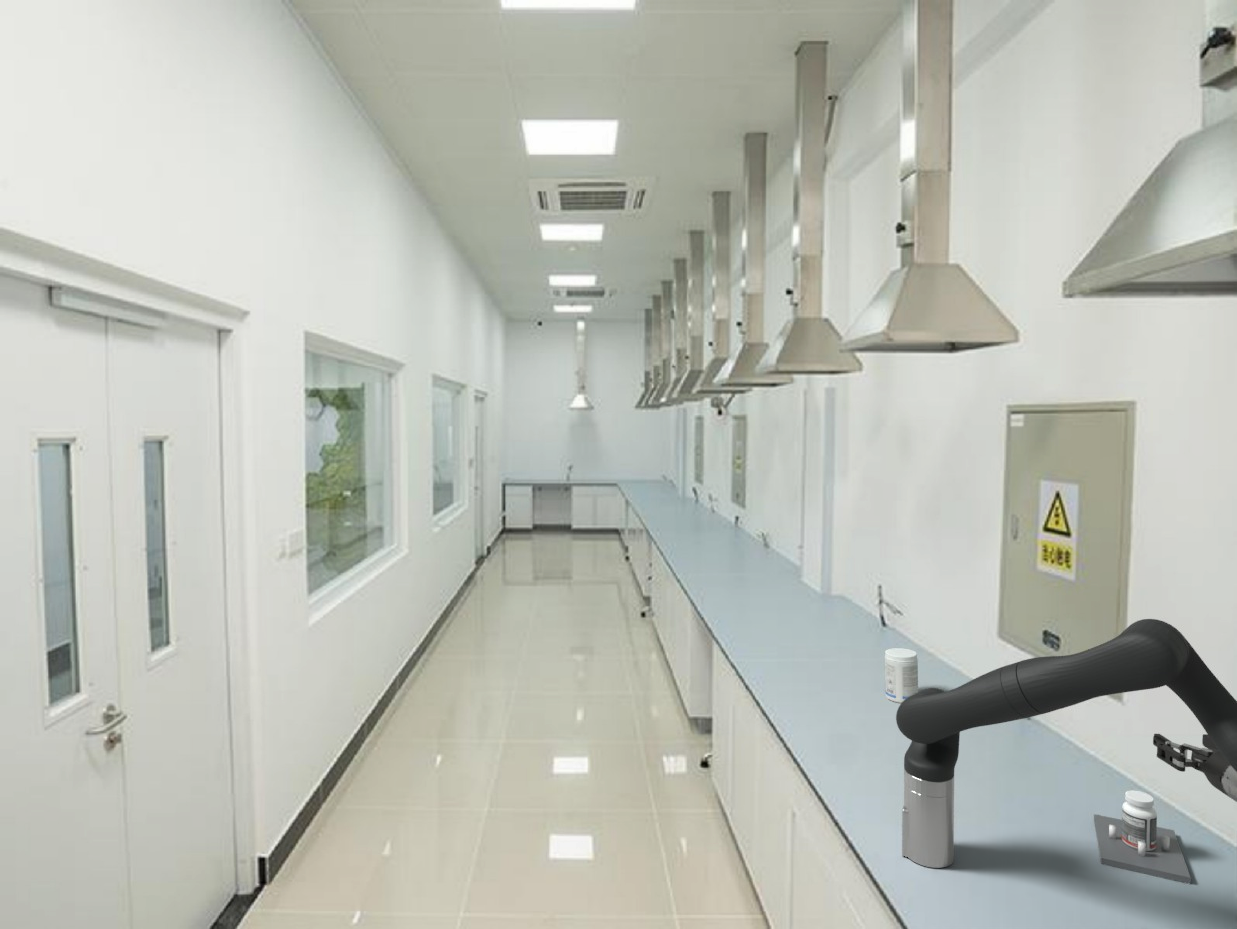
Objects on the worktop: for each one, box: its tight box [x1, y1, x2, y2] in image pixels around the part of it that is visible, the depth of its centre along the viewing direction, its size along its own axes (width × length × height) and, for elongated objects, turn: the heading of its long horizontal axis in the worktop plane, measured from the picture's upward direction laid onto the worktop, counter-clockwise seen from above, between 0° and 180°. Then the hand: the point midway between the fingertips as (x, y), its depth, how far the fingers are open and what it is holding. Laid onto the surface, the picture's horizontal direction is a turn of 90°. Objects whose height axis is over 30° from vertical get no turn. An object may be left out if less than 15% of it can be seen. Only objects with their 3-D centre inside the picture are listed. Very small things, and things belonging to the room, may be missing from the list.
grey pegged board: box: [1093, 813, 1192, 884], centre depth 149 cm, size 14×18×4 cm
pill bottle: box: [1121, 789, 1158, 851], centre depth 149 cm, size 6×6×10 cm
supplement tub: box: [884, 647, 919, 704], centre depth 231 cm, size 10×10×15 cm
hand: (1179, 738), depth 137 cm, fingers open, 8 cm apart
